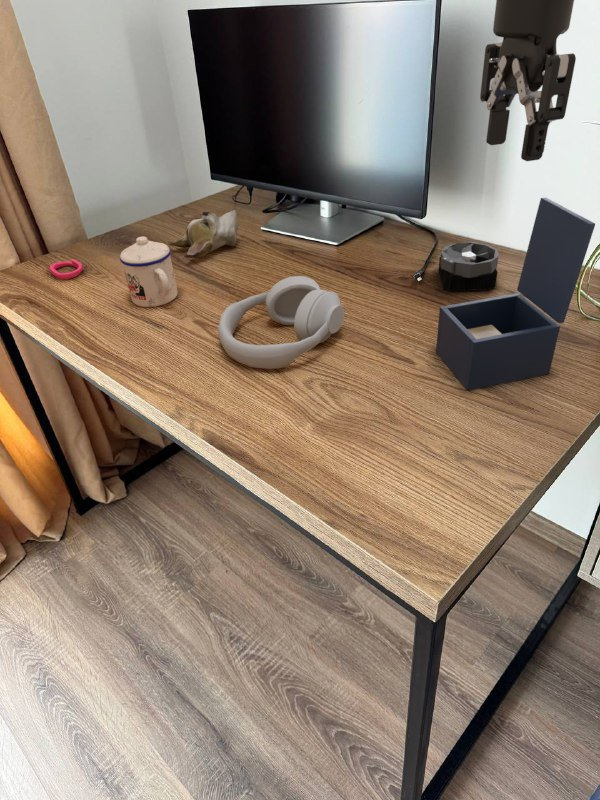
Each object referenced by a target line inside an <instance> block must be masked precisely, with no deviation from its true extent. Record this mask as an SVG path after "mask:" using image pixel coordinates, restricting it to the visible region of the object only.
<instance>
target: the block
mask: <svg viewBox="0 0 600 800" xmlns="http://www.w3.org/2000/svg"><path fill="white" fill-rule="evenodd" d="M467 330H468V331H469V332H470V333H471V334H472V335H473V336H474V337H475V338H476V339H479V338H485V337H490V336H495V335H500V334H501V333H500V332H499V331H498V330H497V329H496V328H495V327H494V326H493V325H487V326H482V327H477V328H471V329H467Z"/></svg>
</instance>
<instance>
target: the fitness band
mask: <svg viewBox="0 0 600 800" xmlns="http://www.w3.org/2000/svg"><path fill="white" fill-rule="evenodd" d="M67 266H69V267H74V268H76V269H75V270H73V271H69V272H66V273H64V272H63V273H62V272H59V271H58V269H60V268H63V267H67ZM49 272H50V273H51V275H52V276H53V277H55V278H57V279H58V280H65V281H66V280H71V279H73V278H75V277H77V276H79V275H80V274H81V273H82V272H85V267H83V264H82V262H80V261H78V260H76V259H75V258H72V259H71V260H70V261H58V262H55V263H52V264H50V265H49Z"/></svg>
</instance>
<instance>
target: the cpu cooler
mask: <svg viewBox="0 0 600 800" xmlns="http://www.w3.org/2000/svg"><path fill="white" fill-rule="evenodd" d="M498 264H499V250H498V249H497V248H495V247H494V246H493V245H490V244H486V243H481V242H476V241H464V242H456V243H452V244H448V245H444V247H443V248H442V250H441V252H440V256H439V260H438V276H439V279H440V282H441V286H442V290H448V291H449V292H462V291H464V292H469V291H470V292H474V291H477V292H478V291H479V292H480V291H491V290H492V289H495V288H496V285H497V278H498V269H497V267H498Z"/></svg>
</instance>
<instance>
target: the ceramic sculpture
mask: <svg viewBox="0 0 600 800" xmlns="http://www.w3.org/2000/svg"><path fill="white" fill-rule="evenodd" d="M237 216H238V215H237V210H235V209H233V210H231V211H228V212H226V213H224V214H222V215H221V216H217V215H216V214H215V213H212V212H210V211H203V212H202V214H201V217H197V218H195V219H192V220H190V222H189V223H188V225H187V227H186V228H185V233H184V234H183V235H182V236H181V237H180V238H177V240H176V241H168V243H167V244H168V245H169V246H172V247H177V248H183V249H188V250H187V252H186V254H184V258H187V259H199V258H203V257H204V256H206V255H207V254H209V253H211V252H213V251H216V250H217V249H218V248H221V247H223V246H225V245H226V246H229V247H234V246H236V243H237V234H238V229H239V226H238V217H237Z"/></svg>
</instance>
